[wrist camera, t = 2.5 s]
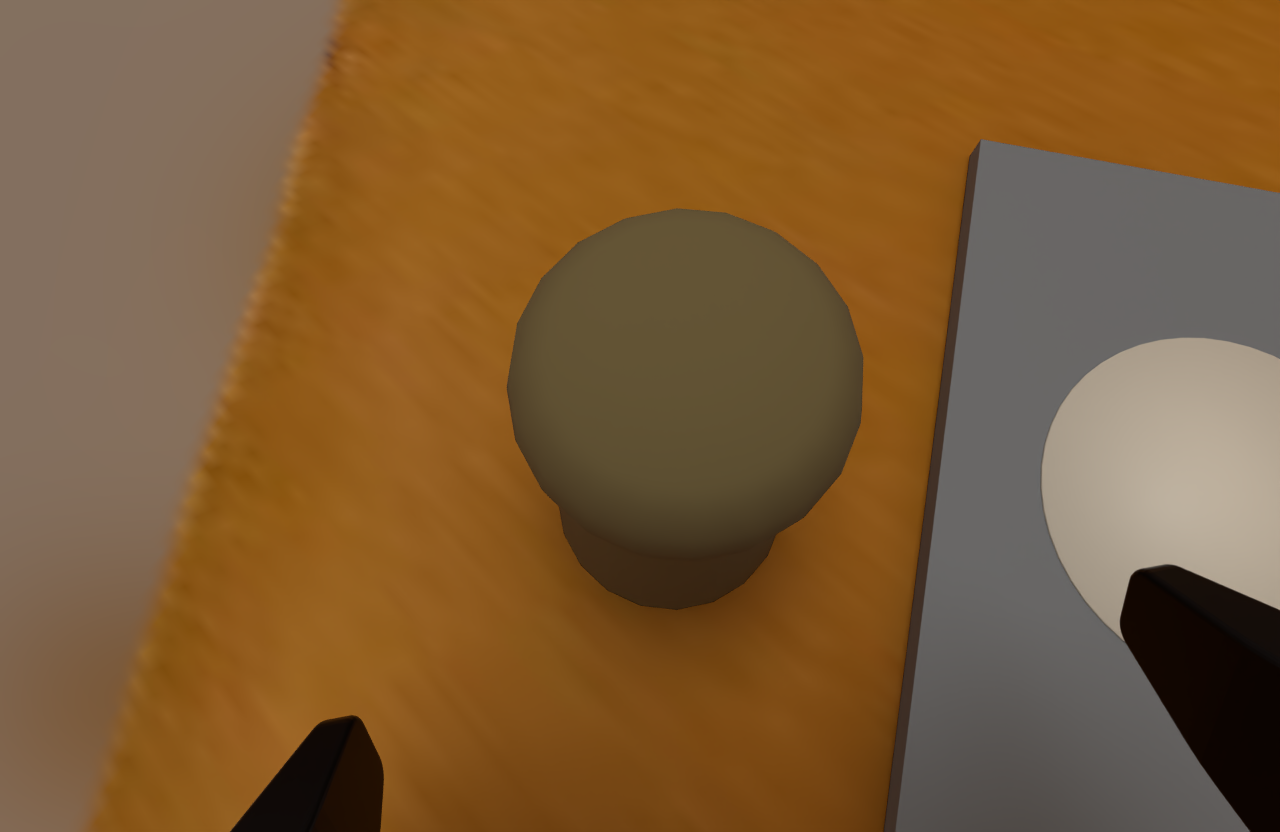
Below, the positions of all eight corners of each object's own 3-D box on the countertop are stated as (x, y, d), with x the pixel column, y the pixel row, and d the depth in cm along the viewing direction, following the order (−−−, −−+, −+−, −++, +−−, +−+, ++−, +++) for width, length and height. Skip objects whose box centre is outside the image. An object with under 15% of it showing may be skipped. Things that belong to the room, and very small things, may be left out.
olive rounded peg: (638, 348, 21) (623, 67, 11) (824, 461, 20) (1011, 276, 10) (513, 526, 20) (354, 407, 9) (706, 657, 19) (773, 690, 8)
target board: (1514, 994, 17) (1561, 1014, 16) (883, 833, 18) (895, 843, 17) (1457, 244, 22) (1490, 228, 21) (970, 156, 23) (982, 137, 22)
